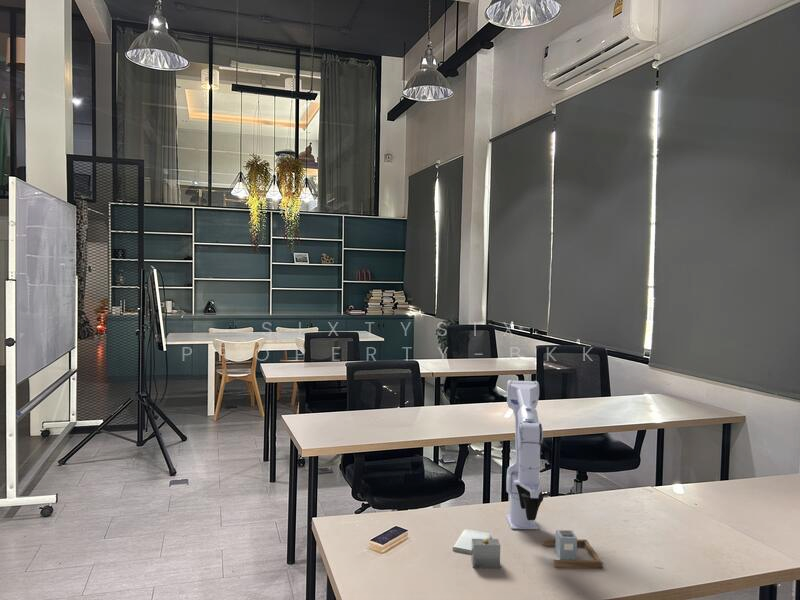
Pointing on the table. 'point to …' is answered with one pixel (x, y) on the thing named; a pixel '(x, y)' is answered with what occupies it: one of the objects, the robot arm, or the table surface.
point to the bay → (577, 563)
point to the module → (566, 545)
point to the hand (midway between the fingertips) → (528, 513)
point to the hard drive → (468, 540)
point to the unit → (485, 553)
